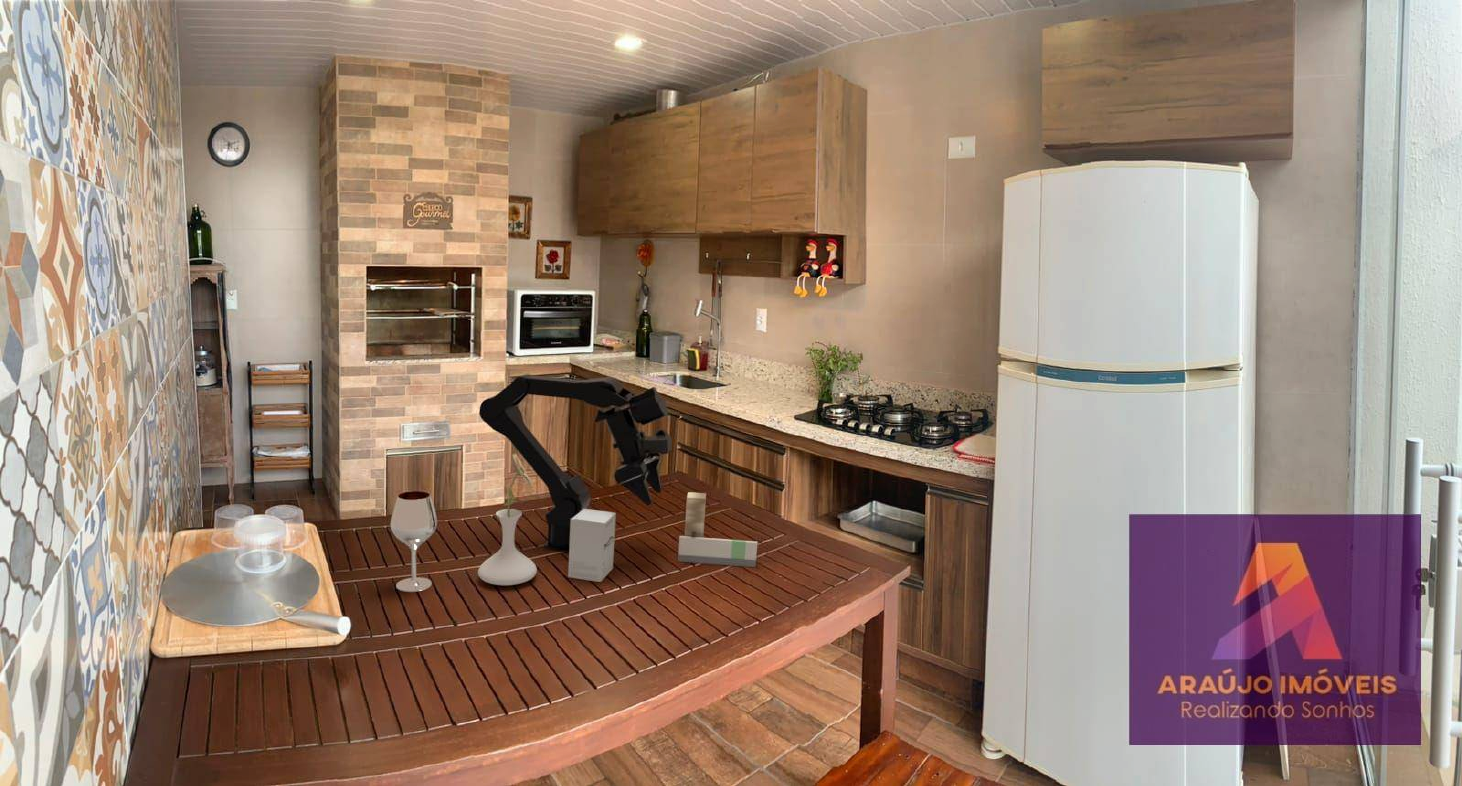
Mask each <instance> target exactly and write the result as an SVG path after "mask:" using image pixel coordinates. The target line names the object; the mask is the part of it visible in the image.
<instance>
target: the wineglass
mask: <svg viewBox="0 0 1462 786" xmlns="http://www.w3.org/2000/svg"><path fill="white" fill-rule="evenodd" d="M436 513H437V512H436V509H435V506H434V503H433V499H432V495H431V493H430V492H427V491H423V490H409V491H404V492H401V493H399V494H398V495H397V497H396V501H395V503H394V507H393V510H392V515H391V519H390V528H391V532H392V534H393V535H394V536H395V537H396V538H397V540H399V541H400V542H402V544H403V543H404V544H405V546H407V547H408V548H409V549H410V550H411V576H410V577H408V578H405V579H401V580H399V581H398V582H397V583H396V585H395V587H396V589H397V590H398V591H400V592H405V593H416V592H422V591H425V590H427V589H429V588H431V586H432V585H433V584H432V583H433V582H432V580H430V579H429V578H426V577H420V576H419V577H417V550H418V548H419V547H420V546H421V545H422V544H423V543H425V541H427V540H428V539H429V538H431V536H432V535H433V534H434V532H435V531H436V529H437V525H438V520H437V519H438V518H437V514H436Z"/></svg>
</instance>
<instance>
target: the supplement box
mask: <svg viewBox="0 0 1462 786" xmlns="http://www.w3.org/2000/svg"><path fill="white" fill-rule="evenodd" d="M616 514H617V513H616V512H613V511H607V510H606V511H605V510H598V509H597V510H596V509H590V508H585V509H583V510H582V511H580V512H579V513H578V514H577V515H575V516H574V517H573V518H572V519H571V524H570V547H569V552H568V553H569V554H568V571H567V572H568V573H567V577H568V578H570V579H571V578H572V579H578V580H583V581H591V582H598V583H601V582H602V581H603V580H604V579H605V577H606V576H608V574H609V573H610V572H611V571H612V570H613V568H614V555H615V554H614V553H615V535H616Z"/></svg>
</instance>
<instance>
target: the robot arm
mask: <svg viewBox="0 0 1462 786" xmlns="http://www.w3.org/2000/svg"><path fill="white" fill-rule="evenodd" d="M528 395H531V396H543V397H553V398H554V397H555V398H561V399H562V398H563V399H571V400H572V399H574V400H578V401H581V402H583V403H584V404H587V405H591V406H594V407H599V408H600V409H598V410H597V415H596V416H595V418H594V422H595V423H600V422H602V421H604V422H605V423H606V425H607V427H608V430H609V432H610V435H611V437H612V439H613V441H614V443H613V444H612V446H613V448H614V450H616V449H617V450H618V452H619V454H620V457H621V459H622V460H621V461H620V464H621V465H620V466H619V467H617V468H616V469H615V472H614V474H613V477H614V479H615V481H616V485H620V486H622V487H623V488H626V489H627V490H628V491H629V492H631V493H632V494H633V495H634V496H636V497H637V498H638V499H639V500H640V501H641V502H643V503H644V504H645V505H646V506H651V505H652V503H653V501H652V497H651V494H650V490H649V487H648V485H649V486H650V488H652V489H653V491H654V492H655V493H656V494H659V493H661V492H662V484H661V478H660V473H659V472H660V471H659V464H660V462H661V460H662V457H663V456H662V455H666V454H669V453H670V451H672V449H673V448H672V441H673V438H672V437H671V434H669V433H668V432H667V430H666V429H665V428H664V429H663V428H662V429H660V428H659V429H658V430H657V432H656V433H655V435H654V434H651V435H646V434H645V431H643V430H639V428H638V425H637V424H641V426H646V425H648V424H651V423H653V422H655V421H656V422H657V421H658V420H661V419H663V418H665V417H667V416H668V415H669V410H668V409H669V408H668V406H667V403H666V400H665V398H663V397H662V395H661V393H660V392H659V391H657V388H656V387H655V386H651V388H648V389H646V391H643V392H640V393H639V394H636V393H634V392H633V391H631V390H629V389H627V388H626V387H624V386H623V384H622V383H621V382H620V380H619V379H618V378H615V377H612V376H609V377H608V376H607V377H606V376H605V377H597V378H590V379H572V378H560V377H559V378H558V377H552V376H551V377H549V376H539V375H532V374H530V373H526V374H522V375H520V376H517V377H515V378H514V379H513V381H512V382H510V384H509V385H507V386H506V387H505V388H503V389H502V390H501V391H500V392H498V393H497V394H495V395H494V396H491V397H488V398H486V399H484V400H483V401H482V402H481V403H480V405H479V412H478V414H479V417H480V418H481V420H482V421H483V422H484V423H485V424H487V426H489V427H490V429H492V430H493V431H495V432H496V433H498V434H501V435H502V436H504V437H506V438H507V439H508V440H509V442H510V443H511V445H513V447H514V449H516V450H517V451H518V453H519V454H520V455H521V456H522V458H523V459H524V460H525V461H526V462H527V464H528V465H529V466H530V467H531V469H532V470H533V471H534V472H535V473H536V475H538V477H539V479H540V480H541V481H542V482H543V483H544V485H545V486H546V487H547V490H548V493H549V496H550V500H551V502H552V504H553V506H554V507H553V508H552V509H550V511H549V512H547V513H546V514H545V515H544V516H545V520H546V523H547V525H548V526H547V527H548V529H547V542H546V543H545V544H543V548H546V549H550V550H555V551H559V552H564V553H569V547H570V524H571V519H572V518H573V517H574V516H575V515H577V514H578V513H579V512H580V511H582V510H583V509H587V508H588V507H589V505H590V502H591V493H590V491H589V490H588V489H589V488H590V486H588V485H586V484H585V483H584V482H583V480H582V479H581V477H580V476H579V474H575V475H574V476H573V477H572V476H570V475H568V474H566V473H565V472H564V471H563V470H562V469H561V467H560V466H559V465H558V463H557V462H556V461H555V460H554V459H553V458H552V456H551V455H550V453H548V451H547V450H546V449H545V448H544V447H543V445H542V444H541V443H540V441H538V439H537V438H536V437H535V435H534V434H533V433H532V432H531V430H530V429H529V428H528V427H527V425H526V424H525V422H524V419H523V418H524V417H523V415H522V412H521V410H520V408H519V407H518V405H519V404H520V403H522V401H524V399H525V398H526V397H527V396H528ZM626 405H627V406H626ZM624 406H625V407H624ZM609 407H610V408H609ZM621 407H622V408H621ZM605 408H608V409H605ZM656 456H657V457H656Z"/></svg>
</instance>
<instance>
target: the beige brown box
mask: <svg viewBox="0 0 1462 786" xmlns="http://www.w3.org/2000/svg"><path fill="white" fill-rule="evenodd" d="M706 499H707V493H706V492H704V493H703V492H694V491H693V492H692V491H691V492H689V491H688V493H687V497H686V508H685V522H684V523H685V525H684V536H688V537H701V538H704V534H705V533H704V529H705V516H706V504H707V503H706V502H707V500H706Z"/></svg>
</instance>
